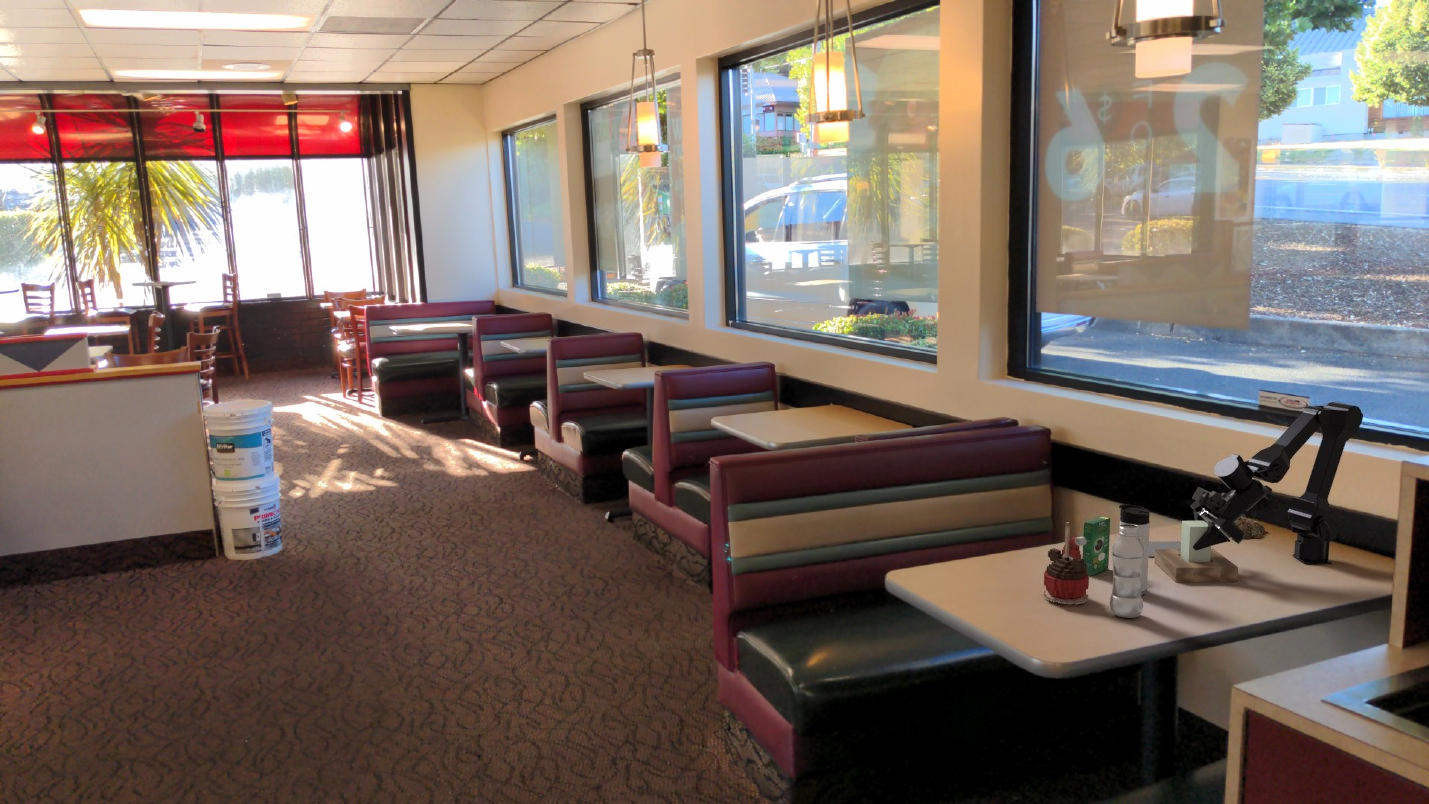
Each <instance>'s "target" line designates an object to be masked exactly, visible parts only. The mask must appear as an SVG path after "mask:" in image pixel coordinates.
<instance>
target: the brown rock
mask: <svg viewBox="0 0 1429 804" xmlns="http://www.w3.org/2000/svg"><path fill="white" fill-rule="evenodd" d="M1234 524H1236V525H1237V526H1238V527H1239V528H1240V529H1241V530H1242V531H1243V532H1244V533H1245V537H1244V540H1250V539H1259V538H1262V537H1263V533H1264V534H1266V528H1265V526H1264V525H1263V524H1262V523H1260V521H1258V520H1254V519H1251V518H1247V517H1245V516H1242V517H1240V518H1239V519H1238V520H1237V521H1236V522H1235V523H1234ZM1261 536H1262V537H1261Z"/></svg>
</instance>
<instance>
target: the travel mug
mask: <svg viewBox="0 0 1429 804" xmlns="http://www.w3.org/2000/svg"><path fill="white" fill-rule="evenodd" d="M1118 509H1120V511H1119V512H1120V513H1119V514H1120V515H1119V516H1120V517H1119V526H1120V525H1121V524H1133V525H1137V526H1138V533H1139V535H1138V536H1137V538H1138V540H1139V541H1140V542H1141V544H1142V546H1143V548H1144V558H1143V563H1142V569H1141V595H1142V596H1144V595H1143V594H1145V595H1146V594H1147V593H1148V575H1149V558H1148V552H1149V542H1150V523H1151V522H1150V521H1151V520H1150V518H1151V517H1150V516H1151V515H1150V513H1151V512H1150V510H1149V509H1147V508H1146V507H1143V506H1140V505H1135V504H1134V505H1133V504H1126V503H1122V504H1119V505H1118ZM1118 535H1119V534H1118ZM1119 537H1120V535H1119V536H1118V538H1119Z"/></svg>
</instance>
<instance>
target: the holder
mask: <svg viewBox="0 0 1429 804" xmlns="http://www.w3.org/2000/svg"><path fill="white" fill-rule="evenodd" d="M1180 556H1181V549H1155V558H1154V564H1155V565H1156V566H1157V567H1158V568H1159V569H1160V570H1161V571H1162V572H1164V573H1165V574H1166V575H1167V574H1168V575H1167V576H1168V577H1169V578H1170V577H1171V578H1170V579H1171V580H1172V581H1174V582H1175V583H1215V582H1216V583H1221V582H1222V583H1227V582H1228V583H1229V582H1233V583H1235V582H1238V580H1239V579H1238V577H1239V575H1238V574H1239V567H1238V565H1236V564H1234V563H1233V562H1232V561H1230V560H1229V559H1228V558H1226V557H1225V556H1224V555H1223V554H1222V553H1220V552H1219V551H1217V550H1216V549H1215V548H1211V556H1210V562H1186V561H1185V560H1184V559H1182V558H1181V557H1180Z"/></svg>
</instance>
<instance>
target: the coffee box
mask: <svg viewBox="0 0 1429 804" xmlns="http://www.w3.org/2000/svg"><path fill="white" fill-rule="evenodd" d="M1082 530H1083V534H1082V537H1085V539H1086V544H1085V545H1082V554H1081V559H1084V562H1085V563H1086V570H1087V574H1088V575H1090V576H1093V575H1094V576H1095V575H1097V574H1098V573H1099V574H1100V573H1101V572H1105V571H1106V570H1109V562H1110V561H1109V559H1110V558H1109V557H1110V535H1111V534H1110V531H1111V517H1108V516H1102V515H1101V516H1097V517H1094V518H1092V519H1089V520H1085V521H1083V529H1082ZM1090 576H1089V577H1090Z"/></svg>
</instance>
